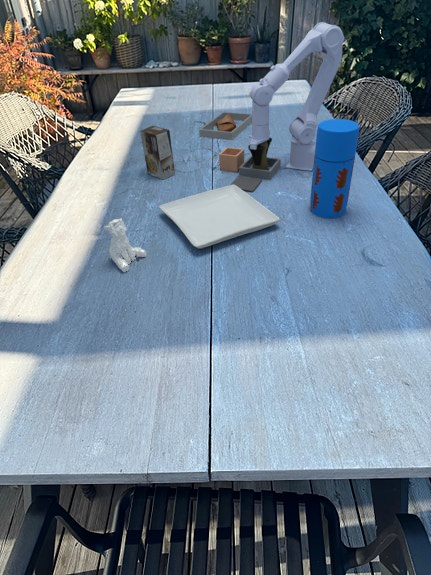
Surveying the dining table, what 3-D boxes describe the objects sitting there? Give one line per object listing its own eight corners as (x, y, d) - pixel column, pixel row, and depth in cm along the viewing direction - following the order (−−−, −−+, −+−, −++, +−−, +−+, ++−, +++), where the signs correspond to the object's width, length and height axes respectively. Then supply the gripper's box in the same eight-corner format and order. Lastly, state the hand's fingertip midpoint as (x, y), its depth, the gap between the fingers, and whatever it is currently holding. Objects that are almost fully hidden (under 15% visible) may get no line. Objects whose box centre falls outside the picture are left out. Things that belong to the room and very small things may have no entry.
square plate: (196, 258, 109) (195, 246, 107) (159, 215, 128) (157, 204, 126) (281, 228, 118) (281, 217, 116) (234, 192, 137) (234, 182, 135)
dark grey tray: (253, 120, 192) (253, 114, 190) (232, 139, 174) (231, 132, 172) (223, 118, 197) (222, 111, 195) (199, 136, 180) (198, 129, 178)
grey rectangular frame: (280, 166, 150) (280, 158, 148) (270, 179, 142) (270, 171, 140) (250, 163, 154) (250, 155, 152) (239, 175, 146) (239, 167, 144)
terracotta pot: (244, 164, 153) (244, 149, 150) (237, 172, 149) (236, 156, 145) (227, 162, 156) (226, 147, 152) (219, 170, 151) (218, 154, 147)
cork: (267, 174, 145) (268, 144, 138) (250, 174, 147) (250, 144, 140) (269, 167, 150) (270, 137, 143) (252, 167, 151) (252, 137, 144)
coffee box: (176, 174, 151) (170, 129, 141) (162, 180, 147) (156, 135, 137) (159, 168, 156) (153, 124, 146) (146, 174, 152) (139, 130, 142)
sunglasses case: (214, 122, 193) (220, 109, 189) (227, 129, 195) (233, 115, 192) (218, 134, 179) (225, 120, 175) (232, 141, 181) (239, 127, 178)
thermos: (347, 203, 126) (361, 119, 111) (344, 220, 119) (358, 133, 103) (312, 199, 130) (320, 117, 114) (306, 216, 122) (314, 131, 106)
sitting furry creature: (125, 274, 105) (115, 234, 97) (101, 265, 109) (89, 226, 101) (148, 255, 111) (140, 216, 103) (124, 247, 115) (115, 209, 107)
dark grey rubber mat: (262, 181, 142) (262, 179, 142) (252, 192, 136) (252, 190, 135) (238, 177, 145) (238, 176, 145) (228, 188, 139) (228, 187, 139)
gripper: (256, 115, 144) (256, 153, 153) (241, 129, 134) (242, 168, 143) (276, 117, 141) (274, 155, 150) (261, 131, 131) (261, 171, 140)
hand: (260, 162), depth 146 cm, fingers closed on cork, 5 cm apart
